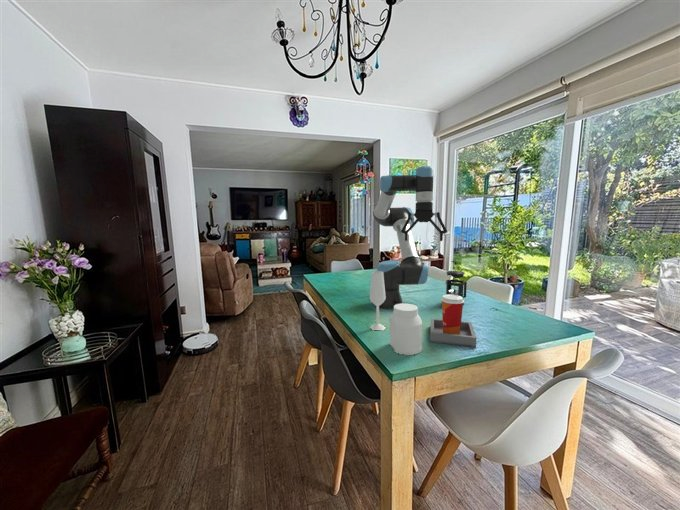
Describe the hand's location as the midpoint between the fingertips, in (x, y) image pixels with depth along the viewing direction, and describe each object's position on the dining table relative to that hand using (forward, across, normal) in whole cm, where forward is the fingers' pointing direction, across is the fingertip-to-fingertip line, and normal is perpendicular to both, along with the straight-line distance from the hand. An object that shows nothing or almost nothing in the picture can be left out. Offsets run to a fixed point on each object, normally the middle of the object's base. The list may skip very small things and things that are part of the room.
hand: (423, 248), depth 128 cm
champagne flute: (+32, -17, -23) cm, 43 cm away
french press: (+32, +16, +21) cm, 41 cm away
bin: (+32, +12, -23) cm, 41 cm away
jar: (+32, -4, -38) cm, 50 cm away
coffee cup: (+31, +12, -23) cm, 41 cm away
